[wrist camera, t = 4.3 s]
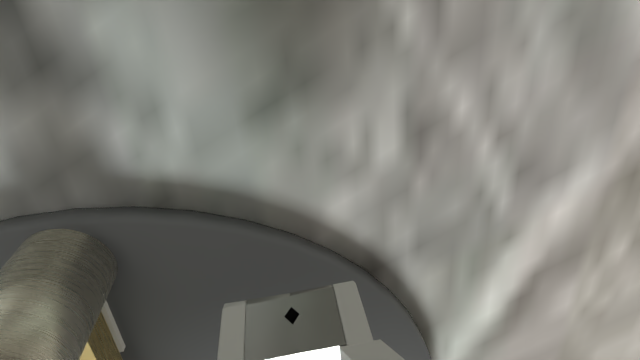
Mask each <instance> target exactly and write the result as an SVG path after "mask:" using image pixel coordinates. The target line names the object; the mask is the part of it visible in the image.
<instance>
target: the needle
mask: <svg viewBox="0 0 640 360" xmlns="http://www.w3.org/2000/svg"><path fill="white" fill-rule="evenodd" d="M117 271H118V266H117V261H116V259H115V256H114V255H113V253H112V252H111V250H110V249H109V248H108V247H107V246H106V245H105V244H103V243H102V242H101V241H99V240H98V239H96V238H94V237H92V236H90V235H88V234H85V233H82V232H79V231H75V230H69V229H50V230H44V231H40V232H38V233H35V234H33V235H31V236H30V237H28V238H27V239H26V240H25V241H24V242H23V243H22V244H21V245H20V247H19V248H18V249H17V250H16V252H15V253H14V254H13V255H12V256H11V258H10V259H9V260H8V261H7V262H6V264H5V265H4V266H3V267H2V269H1V270H0V360H123V359H122V357H121V355H120V353H119V350H118V348H117V346H116V343H115V341H114V339H113V337H112V334H111V332H110V330H109V327H108V325H107V323H106V321H105V318H104V316H103V314H102V311H101V310H102V308H103V305H104V303H105V301H106V299H107V296H108V294H109V292H110V290H111V287H112V285H113V283H114V280H115V278H116V276H117Z"/></svg>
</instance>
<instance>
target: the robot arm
mask: <svg viewBox="0 0 640 360" xmlns="http://www.w3.org/2000/svg"><path fill="white" fill-rule="evenodd" d="M217 360H405V359H403V358H402V357H401V356H400V355H399V354H397V353H396V352H395V351H394V350H393V349H391V348H390V347H389V346H388V345H386V344H385V343H384V342H383V341H382V340H380V339H379V340H373V337H372V334H371V331H370V328H369V324H368V321H367V318H366V315H365V311H364V308H363V305H362V302H361V298H360V295H359V292H358V289H357V285H356V283H355V282H354V281H348V282H343V283H338V284H333V286H332V285H327V286H322V287H316V288H311V289H306V290H301V291H295V292H290V293H287V294H281V295H274V296H268V297H261V298H255V299H248V300H244V301H238V302H231V303H225V304H224V307H223V309H222V316H221V326H220V336H219V346H218V356H217Z"/></svg>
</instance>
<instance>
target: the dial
mask: <svg viewBox="0 0 640 360" xmlns="http://www.w3.org/2000/svg"><path fill="white" fill-rule="evenodd" d="M50 229H69V230H75V231H79V232H82V233H85V234H88V235H90V236H92V237H94V238H96V239H98V240H99V241H101V242H102V243H103V244H105V245H106V246H107V247H108V248H109V249H110V250H111V252H112V253H113V255H114V256H115V259H116V261H117V266H118V271H117V276H116V278H115V280H114V283H113V285H112V287H111V290H110V292H109V294H108V296H107V299H106V301H105V303H104V305H103V308H102V310H101V311H102V314H103V316H104V318H105V321H106V323H107V325H108V327H109V330H110V332H111V334H112V337H113V339H114V341H115V343H116V346H117V348H118V350H119V353H120V355H121V357H122V359H123V360H217V356H218V346H219V336H220V326H221V316H222V309H223V307H224V304H225V303H231V302H238V301H244V300H248V299H255V298H261V297H268V296H274V295H281V294H287V293H290V292H295V291H301V290H306V289H311V288H316V287H322V286H327V285H332V286H333V284H338V283H343V282H348V281H354V282H355V283H356V285H357V289H358V292H359V295H360V298H361V302H362V305H363V308H364V311H365V315H366V318H367V321H368V324H369V328H370V331H371V334H372V337H373V340H379V339H380V340H382V341H383V342H384V343H385V344H386V345H388V346H389V347H390V348H391V349H393V350H394V351H395V352H396V353H397V354H399V355H400V356H401V357H402V358H403V359H405V360H431V357H430V354H429V351H428V349H427V346H426V344H425V342H424V339H423V337H422V335H421V333H420V331H419V329H418V327H417V326H416V324H415V322H414V321H413V319H412V317H411V316H410V314H409V312H408V311H407V309H406V308H405V307H404V306H403V305H402V304H401V303H400V302H399V300H398V299H397V298H396V297H395V296H394V295H393V294H392V293H391V291H390V290H389V289H388V288H386V287H385V286H384V285H383V284H381V283H380V282H379V281H378V280H376V279H375V278H374V277H373V276H371V275H370V274H369V273H368V272H366V271H365V270H364V269H362V268H361V267H359V266H357V265H356V264H354V263H352V262H350V261H349V260H347V259H345V258H343V257H342V256H340V255H338V254H337V253H335V252H333V251H331V250H329V249H327V248H325V247H322V246H320V245H317V244H315V243H313V242H310V241H308V240H306V239H303V238H301V237H298V236H296V235H294V234H291V233H288V232H285V231H281V230H278V229H274V228H271V227H267V226H264V225H260V224H257V223H253V222H250V221H246V220H242V219H236V218H230V217H225V216H219V215H213V214H207V213H201V212H195V211H188V210H173V209H158V208H143V207H115V208H86V209H71V210H63V211H56V212H49V213H42V214H35V215H28V216H21V217H15V218H11V219H7V220H3V221H0V270H1V269H2V267H3V266H4V265H5V264H6V262H7V261H8V260H9V259H10V258H11V256H12V255H13V254H14V253H15V252H16V250H17V249H18V248H19V247H20V245H21V244H22V243H23V242H24V241H25V240H26V239H27V238H28V237H30V236H31V235H33V234H35V233H38V232H40V231H44V230H50Z"/></svg>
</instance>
